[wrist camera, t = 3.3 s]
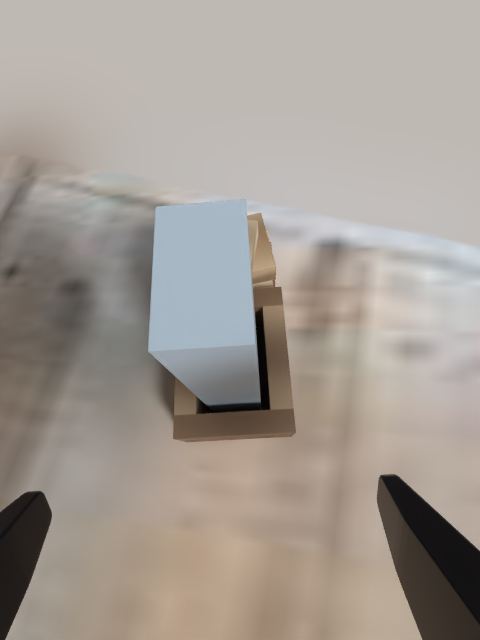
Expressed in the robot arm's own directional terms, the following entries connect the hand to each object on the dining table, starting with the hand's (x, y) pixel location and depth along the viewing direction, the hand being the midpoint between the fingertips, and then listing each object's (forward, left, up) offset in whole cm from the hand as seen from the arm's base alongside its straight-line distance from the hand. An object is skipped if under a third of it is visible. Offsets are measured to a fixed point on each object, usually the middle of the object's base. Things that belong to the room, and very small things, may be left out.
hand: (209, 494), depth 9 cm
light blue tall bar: (+4, +5, -12) cm, 14 cm away
